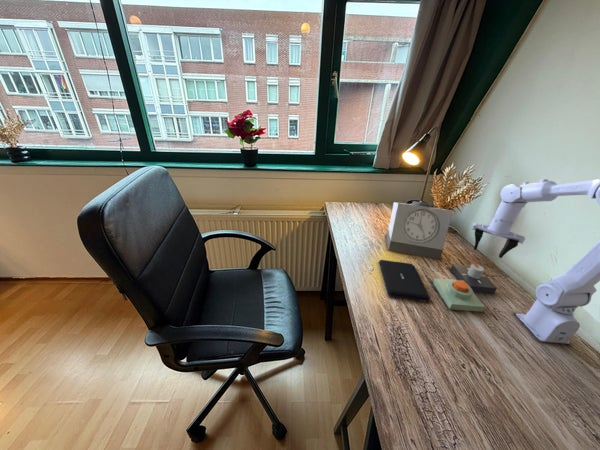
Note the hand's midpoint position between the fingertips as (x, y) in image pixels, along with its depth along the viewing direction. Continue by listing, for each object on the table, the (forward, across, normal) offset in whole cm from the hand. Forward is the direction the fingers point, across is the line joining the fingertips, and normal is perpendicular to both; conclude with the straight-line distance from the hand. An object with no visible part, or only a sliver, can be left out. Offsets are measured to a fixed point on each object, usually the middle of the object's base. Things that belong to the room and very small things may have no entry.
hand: (487, 252), depth 89 cm
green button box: (+9, +5, +20) cm, 23 cm away
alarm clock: (+10, +25, -4) cm, 27 cm away
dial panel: (+9, +2, +7) cm, 12 cm away
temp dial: (+7, +2, +7) cm, 10 cm away
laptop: (+10, +22, +24) cm, 34 cm away
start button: (+6, +5, +20) cm, 22 cm away
